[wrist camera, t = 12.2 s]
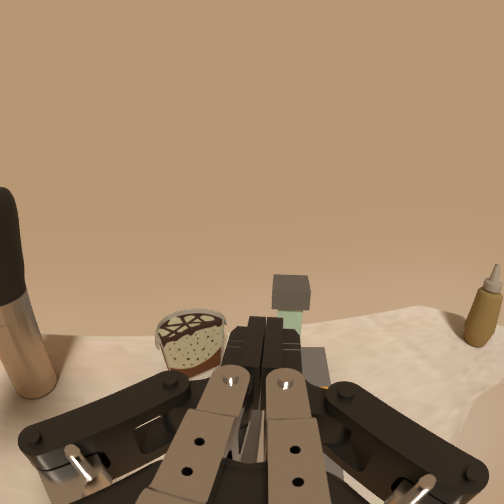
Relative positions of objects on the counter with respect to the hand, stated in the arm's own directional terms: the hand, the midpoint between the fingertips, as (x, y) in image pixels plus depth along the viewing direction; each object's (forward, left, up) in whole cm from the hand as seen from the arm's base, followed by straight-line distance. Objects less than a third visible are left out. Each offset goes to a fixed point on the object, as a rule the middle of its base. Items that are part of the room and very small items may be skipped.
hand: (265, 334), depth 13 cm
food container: (-14, +27, -26) cm, 40 cm away
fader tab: (+2, +22, -23) cm, 31 cm away
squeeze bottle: (+46, +34, -26) cm, 63 cm away
